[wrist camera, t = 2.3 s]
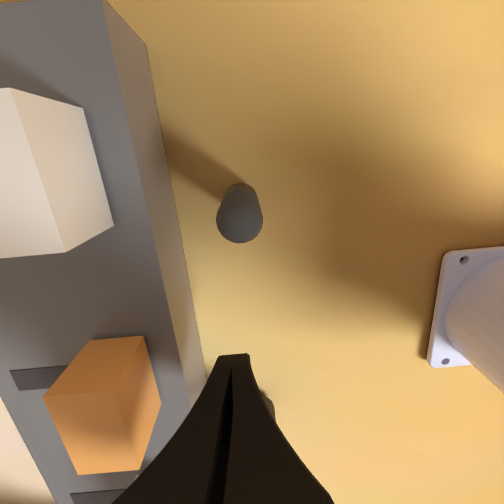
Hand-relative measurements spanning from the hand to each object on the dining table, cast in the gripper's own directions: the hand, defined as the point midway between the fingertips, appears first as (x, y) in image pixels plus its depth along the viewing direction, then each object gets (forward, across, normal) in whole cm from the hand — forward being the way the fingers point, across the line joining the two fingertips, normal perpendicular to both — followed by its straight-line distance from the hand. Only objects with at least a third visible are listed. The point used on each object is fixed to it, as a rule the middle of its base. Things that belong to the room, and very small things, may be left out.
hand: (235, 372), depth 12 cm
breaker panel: (+5, +7, 0) cm, 9 cm away
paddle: (+1, +5, -9) cm, 10 cm away
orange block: (+1, +5, 0) cm, 5 cm away
